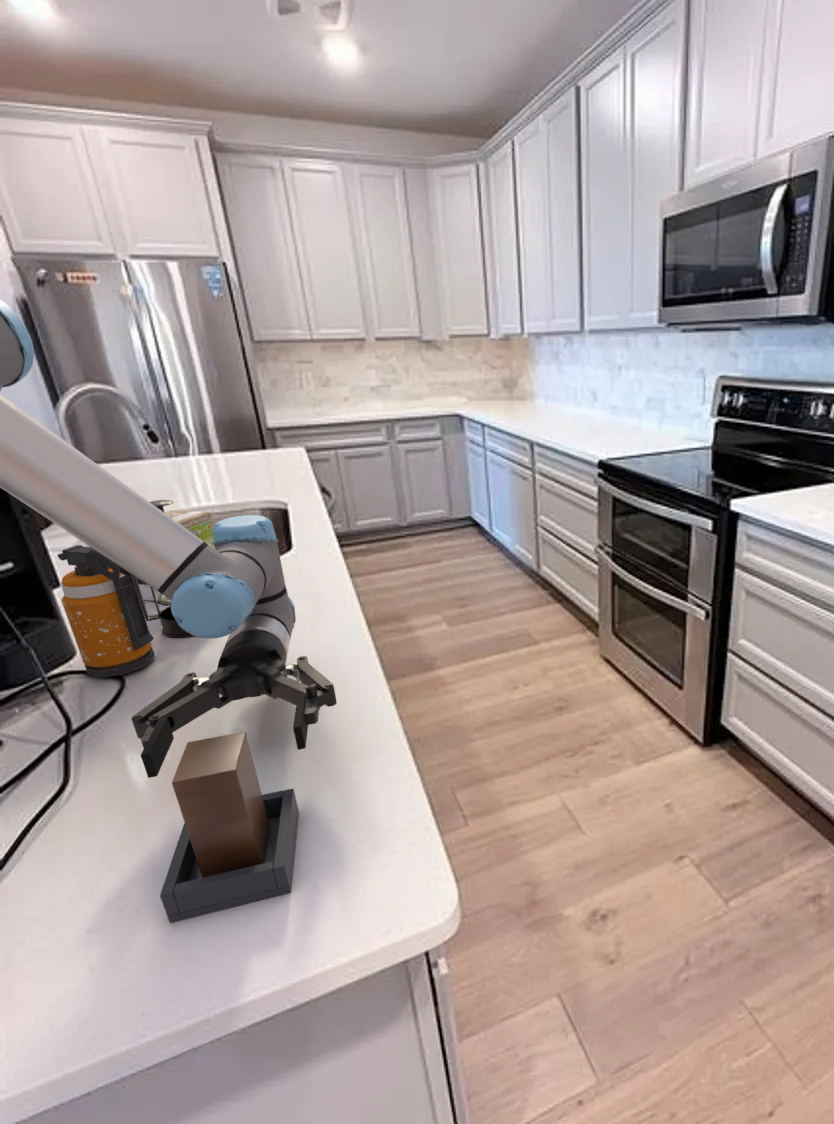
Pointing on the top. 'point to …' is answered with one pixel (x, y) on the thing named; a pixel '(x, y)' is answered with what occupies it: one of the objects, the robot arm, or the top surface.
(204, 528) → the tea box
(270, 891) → the socket pad
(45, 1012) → the top surface
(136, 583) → the french press
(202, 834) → the brown rectangular block
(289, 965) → the top surface
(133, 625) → the canister
